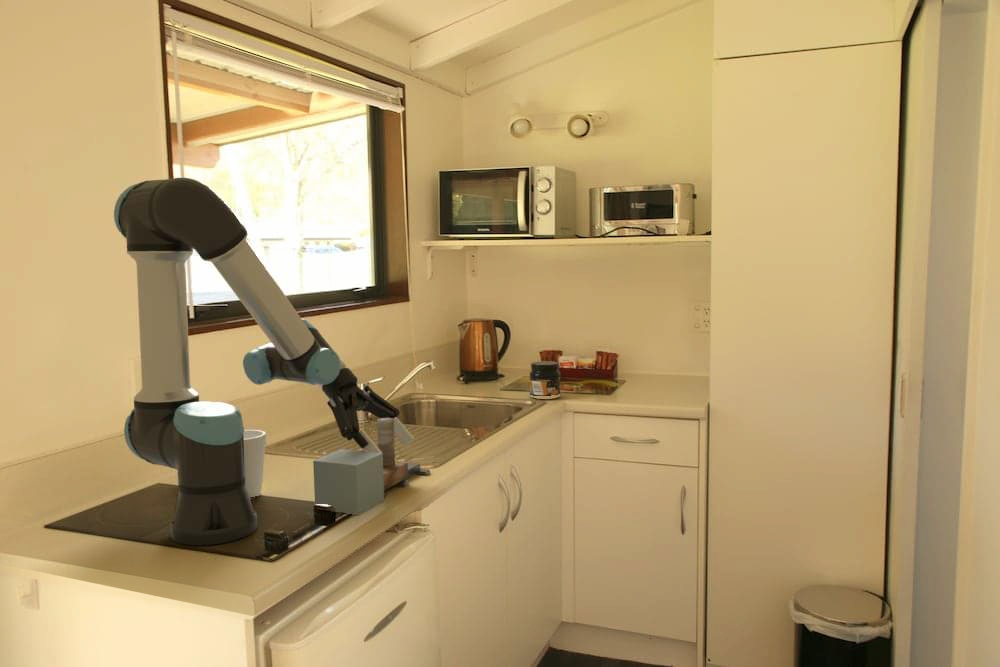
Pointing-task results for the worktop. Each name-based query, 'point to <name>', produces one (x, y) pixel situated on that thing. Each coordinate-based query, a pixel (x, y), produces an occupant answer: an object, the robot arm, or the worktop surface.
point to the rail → (410, 474)
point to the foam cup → (254, 460)
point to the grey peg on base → (389, 453)
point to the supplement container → (544, 378)
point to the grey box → (349, 480)
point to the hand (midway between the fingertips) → (394, 449)
